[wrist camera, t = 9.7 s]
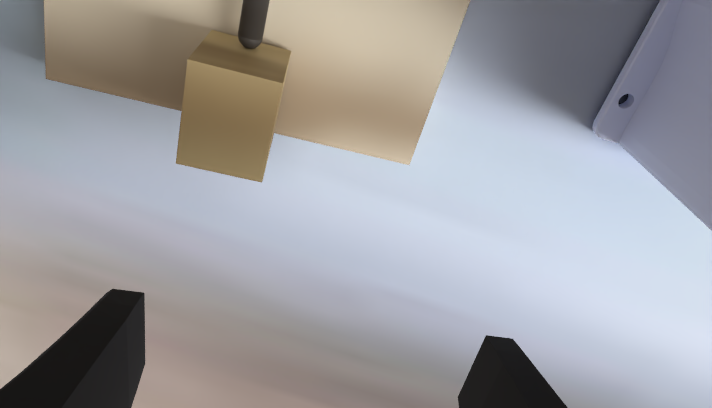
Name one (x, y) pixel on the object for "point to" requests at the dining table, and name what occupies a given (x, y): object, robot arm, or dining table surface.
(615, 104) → the robot arm
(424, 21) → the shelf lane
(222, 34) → the block with dark rod
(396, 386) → the dining table surface
